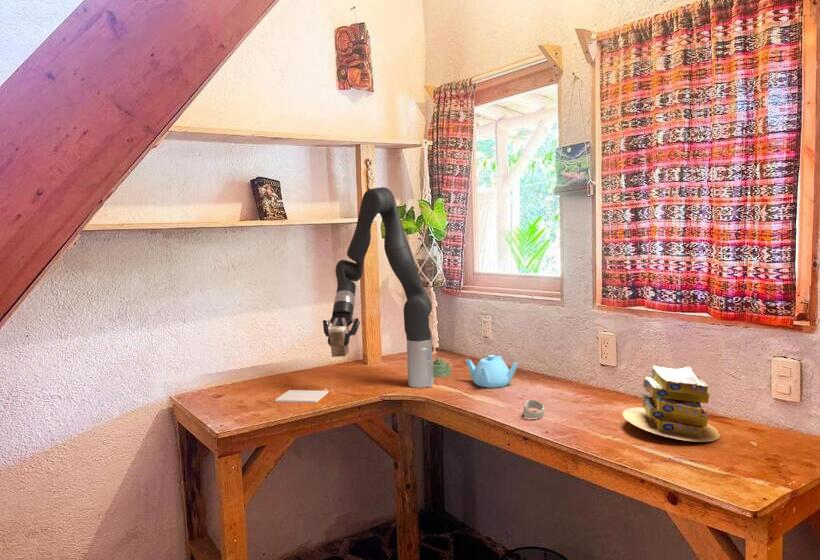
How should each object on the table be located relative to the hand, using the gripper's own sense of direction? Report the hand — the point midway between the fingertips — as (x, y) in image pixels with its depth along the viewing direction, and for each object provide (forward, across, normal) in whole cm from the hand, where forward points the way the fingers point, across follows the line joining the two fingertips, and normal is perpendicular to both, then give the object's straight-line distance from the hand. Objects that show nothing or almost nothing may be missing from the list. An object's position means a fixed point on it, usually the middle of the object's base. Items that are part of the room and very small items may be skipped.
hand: (337, 344), depth 220 cm
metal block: (+2, 0, +4) cm, 5 cm away
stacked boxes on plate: (+38, +104, -9) cm, 111 cm away
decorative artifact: (-5, +31, +35) cm, 46 cm away
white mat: (+17, -13, +6) cm, 22 cm away
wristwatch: (+30, +67, -2) cm, 74 cm away
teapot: (+5, +52, +24) cm, 58 cm away
